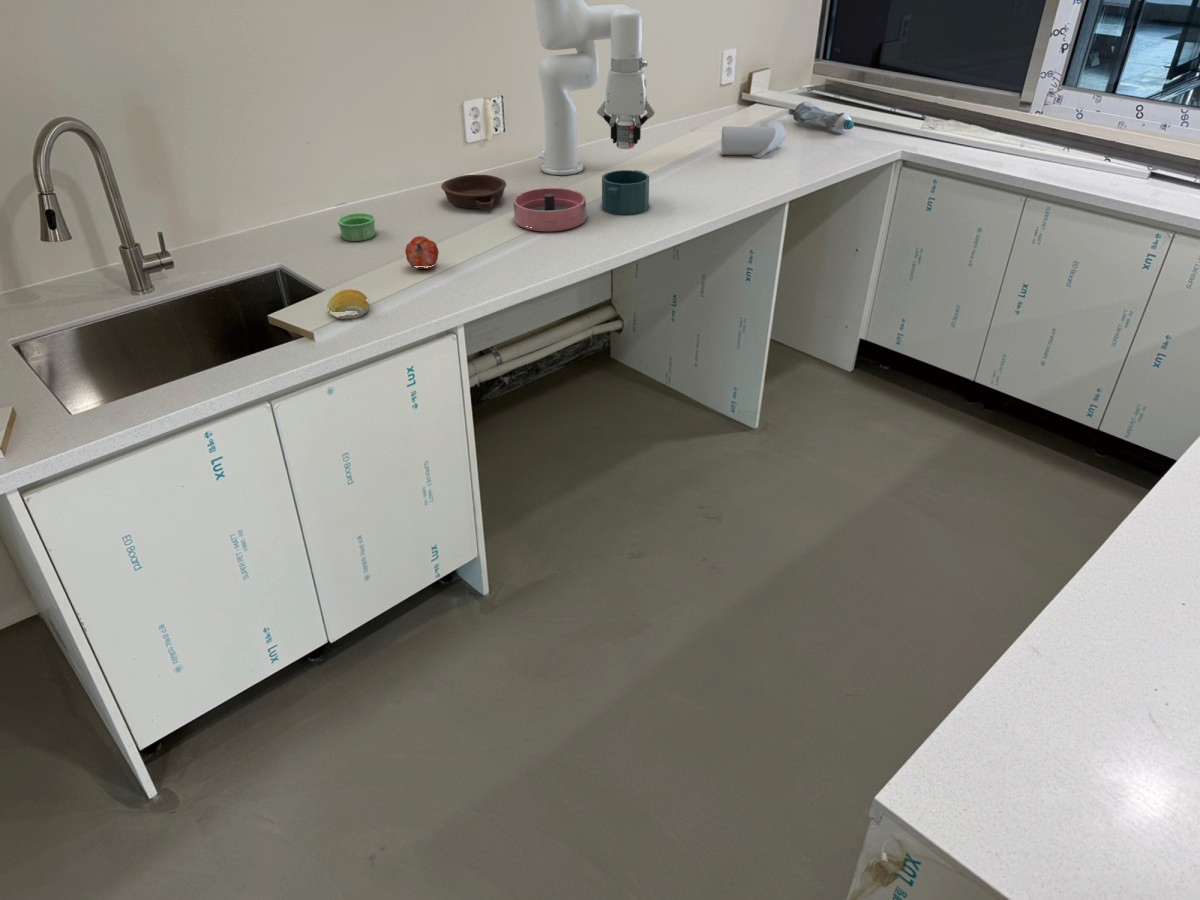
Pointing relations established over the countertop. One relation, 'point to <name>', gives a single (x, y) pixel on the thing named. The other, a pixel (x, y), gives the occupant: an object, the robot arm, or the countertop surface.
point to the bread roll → (349, 303)
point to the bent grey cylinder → (752, 139)
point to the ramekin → (357, 226)
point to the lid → (549, 204)
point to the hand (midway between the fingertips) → (625, 141)
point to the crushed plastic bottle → (822, 117)
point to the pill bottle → (625, 132)
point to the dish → (474, 191)
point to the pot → (625, 192)
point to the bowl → (549, 219)
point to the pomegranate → (422, 252)
